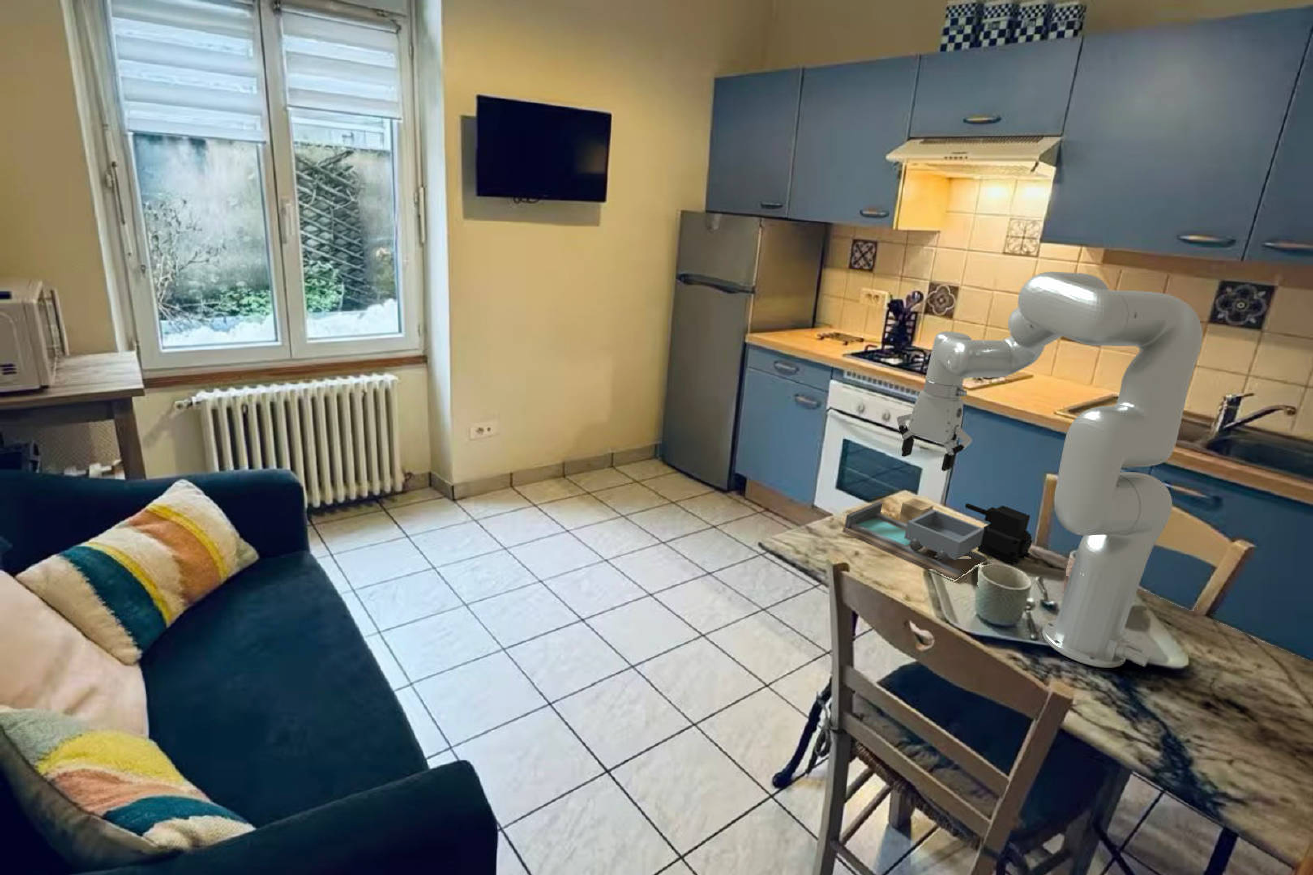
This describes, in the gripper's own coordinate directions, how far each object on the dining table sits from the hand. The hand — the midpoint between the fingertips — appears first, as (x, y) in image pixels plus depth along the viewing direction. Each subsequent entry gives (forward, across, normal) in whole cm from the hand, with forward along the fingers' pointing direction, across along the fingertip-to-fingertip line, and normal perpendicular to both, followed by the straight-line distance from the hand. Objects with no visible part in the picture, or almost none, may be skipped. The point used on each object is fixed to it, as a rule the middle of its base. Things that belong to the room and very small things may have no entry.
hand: (925, 462), depth 161 cm
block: (+15, -1, 0) cm, 15 cm away
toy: (+15, -18, -2) cm, 23 cm away
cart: (+13, -13, +12) cm, 21 cm away
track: (+15, -7, +12) cm, 20 cm away
